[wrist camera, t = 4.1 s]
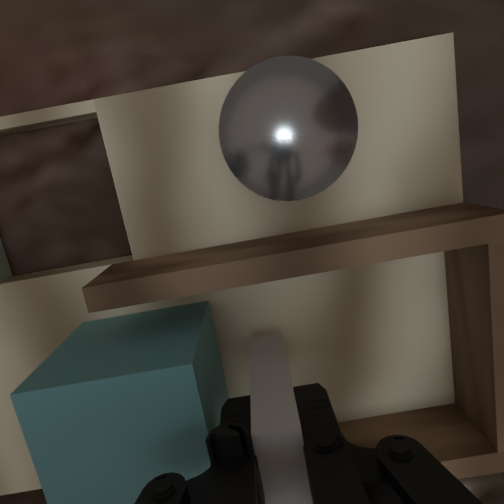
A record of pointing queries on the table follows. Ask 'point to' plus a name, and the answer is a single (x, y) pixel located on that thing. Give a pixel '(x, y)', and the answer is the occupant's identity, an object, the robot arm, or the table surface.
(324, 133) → the grey knob
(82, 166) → the table surface
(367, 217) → the board
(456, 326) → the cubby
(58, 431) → the block
